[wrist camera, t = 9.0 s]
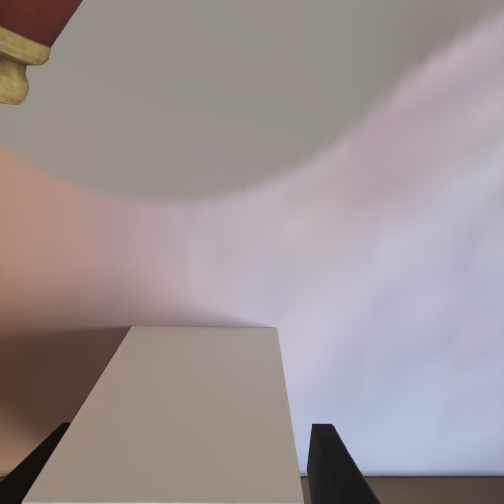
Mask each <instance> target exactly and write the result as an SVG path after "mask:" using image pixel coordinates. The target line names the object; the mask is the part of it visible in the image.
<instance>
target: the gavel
mask: <svg viewBox="0 0 504 504" xmlns="http://www.w3.org/2000/svg"><path fill="white" fill-rule="evenodd" d="M82 1H83V0H0V103H4V104H12V105H19V104H20V103H22V101H24V100H25V98H26V96H27V94H28V89H29V87H28V80H27V78H26V75H25V72H26V66H27V65H43V64H44V63H45V62H47V61H48V60H49V55H50V49H51V47H52V45H53V44H54V42H55V40H56V39H57V38H58V36H59V35H60V33H61V32H62V30H63V29H64V27H65V26H66V24H67V23H68V21H69V19H70V18H71V17H72V15H73V14H74V12H75V11H76V9H77V8H78V6H79V5H80V3H81V2H82Z"/></svg>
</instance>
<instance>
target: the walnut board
mask: <svg viewBox="0 0 504 504" xmlns="http://www.w3.org/2000/svg"><path fill="white" fill-rule="evenodd" d="M364 478H365V480H366V481H367V483H368V484H369V486H370V487H371V489H372V490H373V492H374V494H375V495H376V497H377V498H378V500H379V501H380V503H381V504H504V477H364ZM3 479H4V478H0V482H1V481H2V480H3ZM300 480H301V486H302V493H303V499H304V504H311V497H310V490H309V482H308V477H306V478H300Z"/></svg>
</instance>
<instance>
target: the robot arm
mask: <svg viewBox="0 0 504 504" xmlns="http://www.w3.org/2000/svg"><path fill="white" fill-rule="evenodd" d="M70 424H71V423H62V424H61V425H60V426H59V427H58V428H57V429H56V430H55V431H54V432H53V433H51V434H50V435H49V436H48V437H47V438H46V439H45V440H44V441H43V442H42V443H41V444H40V445H39V446H38V447H37V448H36V449H35V450H34V451H33V452H32V453H30V454H29V455H28V456H27V457H26V458H25V459H24V460H23V461H22V462H21V463H20V464H19V465H18V466H17V467H16V468H15V469H14V470H13V471H11V472H10V473H9V474H8V475H7V476H6V477H5V478H4V479H3V480H2V481H1V482H0V504H22V501H23V500H24V498H25V496H26V495H27V493H28V492H29V490H30V488H31V487H32V485H33V484H34V482H35V480H36V479H37V477H38V476H39V474H40V472H41V471H42V469H43V468H44V466H45V464H46V463H47V461H48V460H49V458H50V456H51V455H52V453H53V452H54V450H55V448H56V447H57V445H58V444H59V442H60V440H61V439H62V437H63V436H64V434H65V432H66V431H67V429H68V428H69V426H70ZM307 474H308V482H309V490H310V497H311V504H381V503H380V501H379V500H378V498H377V497H376V495H375V494H374V492H373V490H372V489H371V487H370V486H369V484H368V483H367V481H366V480H365V478H364V477H363V475H362V473H361V472H360V470H359V469H358V467H357V465H356V464H355V462H354V460H353V459H352V457H351V455H350V454H349V452H348V450H347V449H346V447H345V445H344V443H343V442H342V440H341V438H340V436H339V434H338V433H337V431H336V429H335V427H334V426H333V425H332V424H312V430H311V438H310V447H309V455H308V463H307Z"/></svg>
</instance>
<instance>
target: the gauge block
mask: <svg viewBox="0 0 504 504" xmlns="http://www.w3.org/2000/svg"><path fill="white" fill-rule="evenodd" d="M22 504H304V499H303V493H302V486H301V480H300V473H299V467H298V460H297V454H296V448H295V441H294V435H293V428H292V422H291V416H290V409H289V403H288V396H287V390H286V383H285V377H284V371H283V364H282V358H281V351H280V345H279V339H278V332H277V328H245V327H166V326H132V327H131V329H130V330H129V332H128V333H127V335H126V337H125V338H124V340H123V341H122V343H121V345H120V346H119V348H118V349H117V351H116V353H115V354H114V356H113V357H112V359H111V361H110V362H109V364H108V365H107V367H106V369H105V370H104V372H103V373H102V375H101V377H100V378H99V380H98V381H97V383H96V385H95V386H94V388H93V389H92V391H91V392H90V394H89V396H88V397H87V399H86V400H85V402H84V404H83V405H82V407H81V408H80V410H79V412H78V413H77V415H76V416H75V418H74V420H73V421H72V423H71V424H70V426H69V428H68V429H67V431H66V432H65V434H64V436H63V437H62V439H61V440H60V442H59V444H58V445H57V447H56V448H55V450H54V452H53V453H52V455H51V456H50V458H49V460H48V461H47V463H46V464H45V466H44V468H43V469H42V471H41V472H40V474H39V476H38V477H37V479H36V480H35V482H34V484H33V485H32V487H31V488H30V490H29V492H28V493H27V495H26V496H25V498H24V500H23V501H22Z"/></svg>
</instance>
